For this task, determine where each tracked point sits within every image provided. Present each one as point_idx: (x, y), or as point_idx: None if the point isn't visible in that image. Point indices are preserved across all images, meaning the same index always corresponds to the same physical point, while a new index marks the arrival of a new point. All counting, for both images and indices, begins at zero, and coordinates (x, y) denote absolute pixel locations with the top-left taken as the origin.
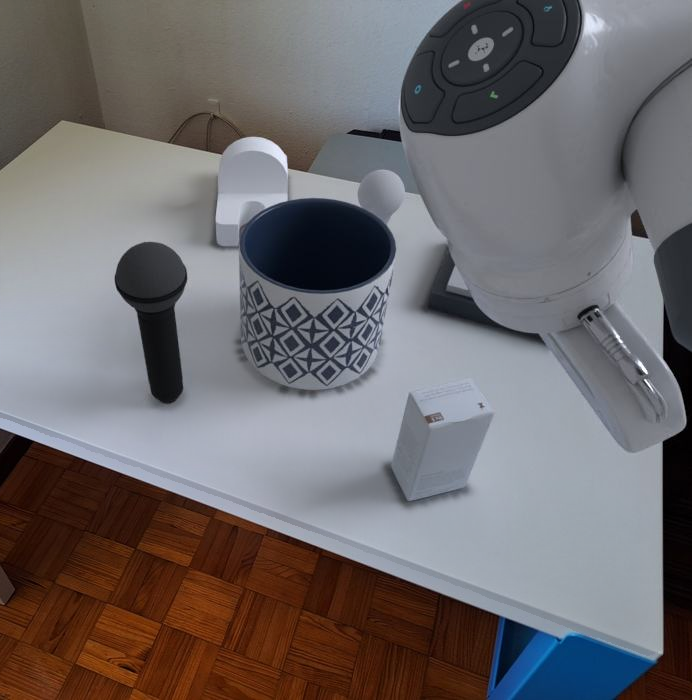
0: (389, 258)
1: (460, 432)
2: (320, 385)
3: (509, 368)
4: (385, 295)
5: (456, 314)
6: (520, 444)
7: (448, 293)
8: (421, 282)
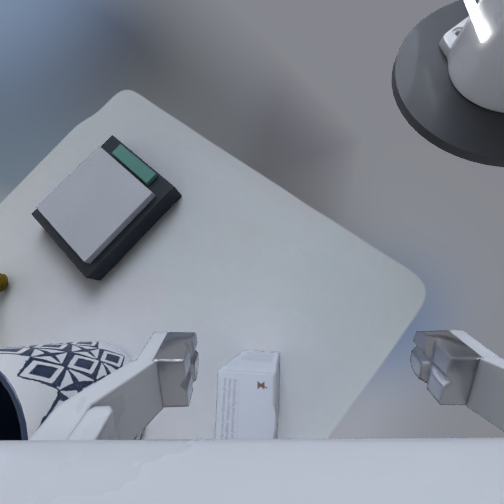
0: (4, 386)
1: (276, 410)
2: (138, 436)
3: (183, 249)
4: (63, 382)
5: (116, 261)
6: (253, 282)
7: (93, 263)
8: (72, 270)
